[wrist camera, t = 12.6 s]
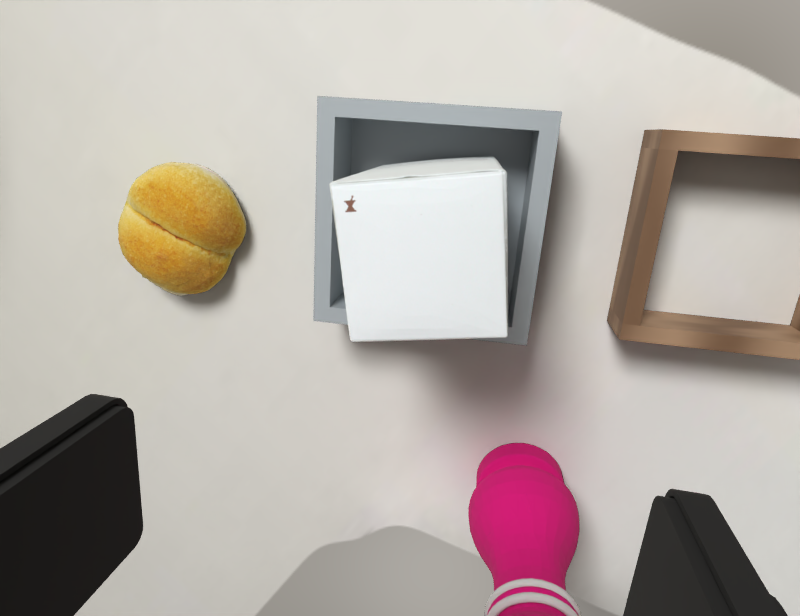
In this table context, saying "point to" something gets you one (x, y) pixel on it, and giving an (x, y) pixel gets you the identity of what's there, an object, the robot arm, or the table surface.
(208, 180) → the bread roll
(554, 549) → the pepper mill
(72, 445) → the robot arm
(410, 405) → the table surface
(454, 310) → the supplement box
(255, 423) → the table surface
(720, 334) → the walnut frame
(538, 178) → the grey bin
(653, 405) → the table surface
